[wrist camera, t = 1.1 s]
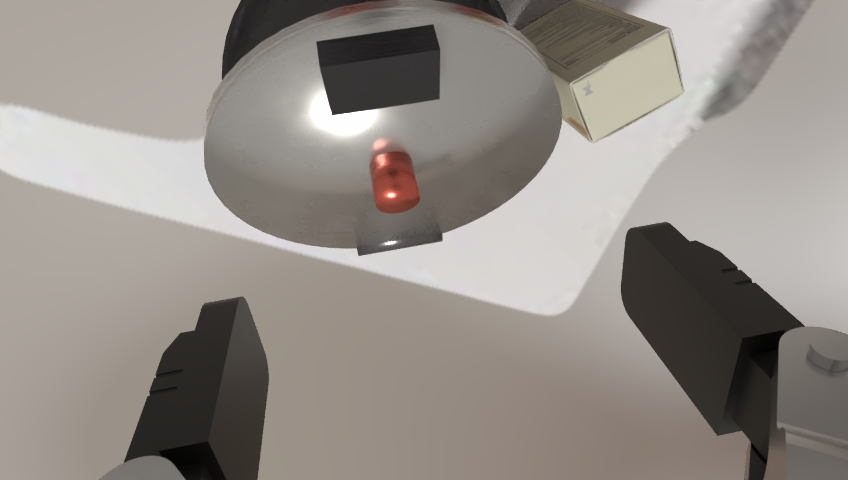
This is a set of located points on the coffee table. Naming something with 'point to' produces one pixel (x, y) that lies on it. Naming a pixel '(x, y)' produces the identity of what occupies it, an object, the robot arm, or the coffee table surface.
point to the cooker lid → (380, 125)
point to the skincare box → (606, 65)
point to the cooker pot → (288, 4)
